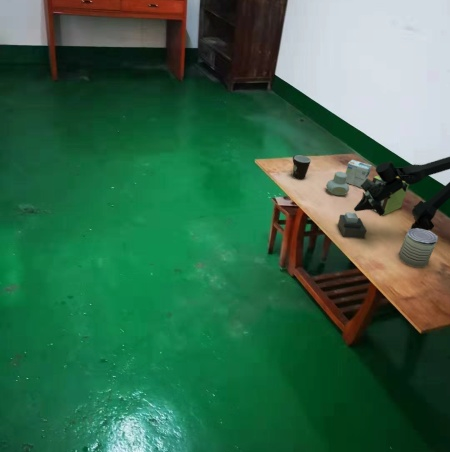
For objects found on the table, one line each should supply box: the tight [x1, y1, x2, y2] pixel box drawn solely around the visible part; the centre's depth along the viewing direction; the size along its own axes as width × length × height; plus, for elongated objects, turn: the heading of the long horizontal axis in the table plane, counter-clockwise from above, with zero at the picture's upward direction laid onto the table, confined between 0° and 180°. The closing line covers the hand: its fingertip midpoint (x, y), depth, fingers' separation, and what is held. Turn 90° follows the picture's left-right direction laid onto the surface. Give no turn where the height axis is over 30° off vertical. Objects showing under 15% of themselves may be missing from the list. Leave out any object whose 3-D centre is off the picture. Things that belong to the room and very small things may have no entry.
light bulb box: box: [344, 159, 372, 189], centre depth 234 cm, size 11×7×11 cm, turn 58°
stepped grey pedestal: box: [337, 214, 367, 239], centre depth 195 cm, size 10×10×6 cm
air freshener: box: [326, 171, 350, 196], centre depth 223 cm, size 11×8×10 cm
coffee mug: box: [292, 154, 312, 180], centre depth 236 cm, size 12×9×10 cm
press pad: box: [344, 211, 359, 223], centre depth 193 cm, size 4×4×2 cm
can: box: [398, 228, 439, 268], centre depth 180 cm, size 11×11×12 cm
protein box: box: [371, 174, 410, 216], centre depth 214 cm, size 10×15×16 cm
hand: (354, 210), depth 191 cm, fingers closed
